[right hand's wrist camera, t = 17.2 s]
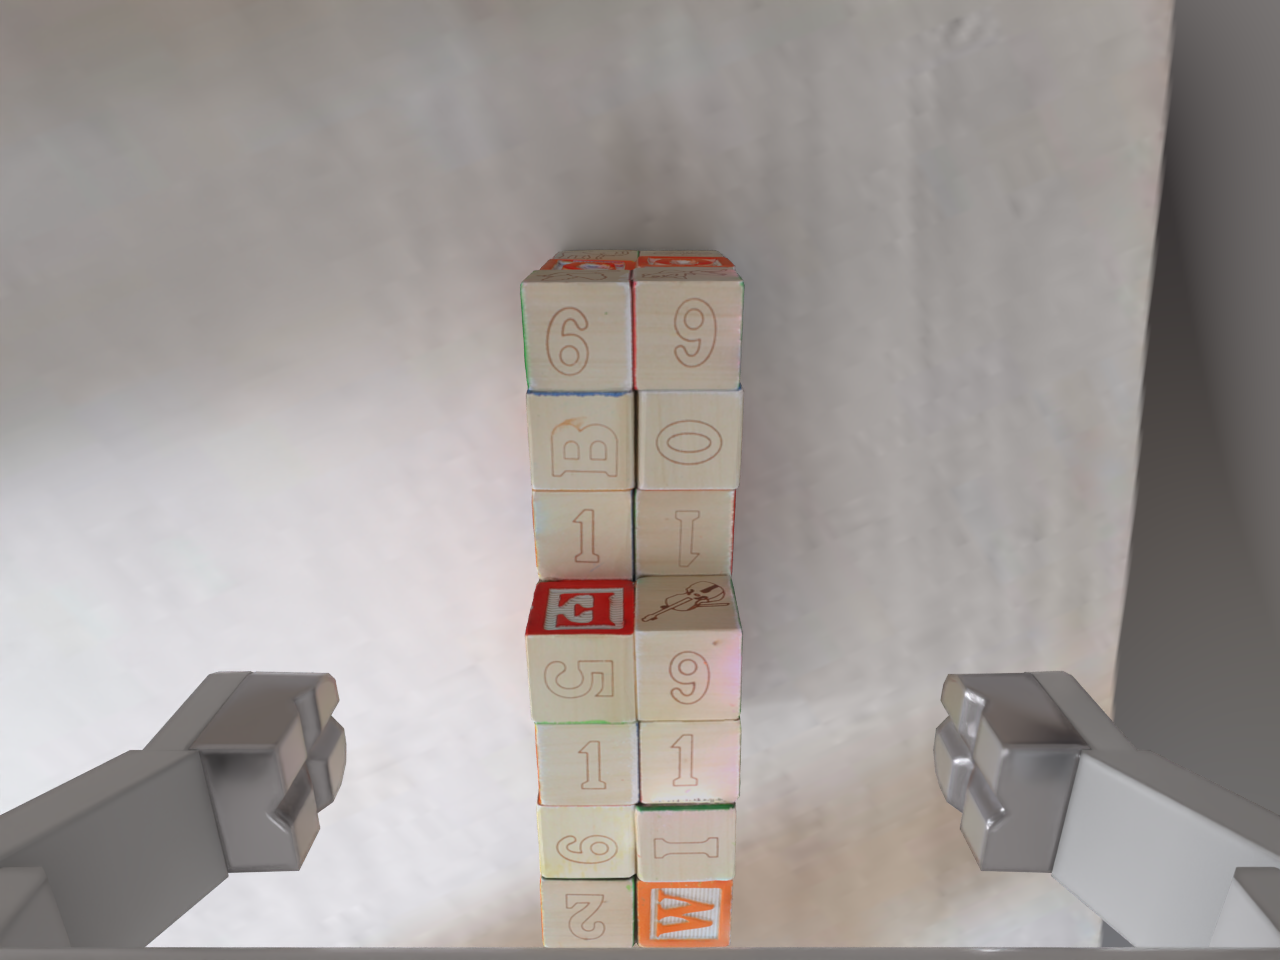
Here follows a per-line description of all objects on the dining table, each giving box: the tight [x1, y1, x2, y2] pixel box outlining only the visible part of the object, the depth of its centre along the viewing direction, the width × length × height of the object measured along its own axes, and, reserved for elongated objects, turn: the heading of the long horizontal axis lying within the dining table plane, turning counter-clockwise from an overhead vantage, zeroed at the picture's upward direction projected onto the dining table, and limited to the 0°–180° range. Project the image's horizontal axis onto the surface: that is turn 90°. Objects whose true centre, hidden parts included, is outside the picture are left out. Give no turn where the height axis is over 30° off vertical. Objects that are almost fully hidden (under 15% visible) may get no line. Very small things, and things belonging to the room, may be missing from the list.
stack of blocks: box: [520, 250, 744, 948], centre depth 28 cm, size 21×6×12 cm, turn 0°
